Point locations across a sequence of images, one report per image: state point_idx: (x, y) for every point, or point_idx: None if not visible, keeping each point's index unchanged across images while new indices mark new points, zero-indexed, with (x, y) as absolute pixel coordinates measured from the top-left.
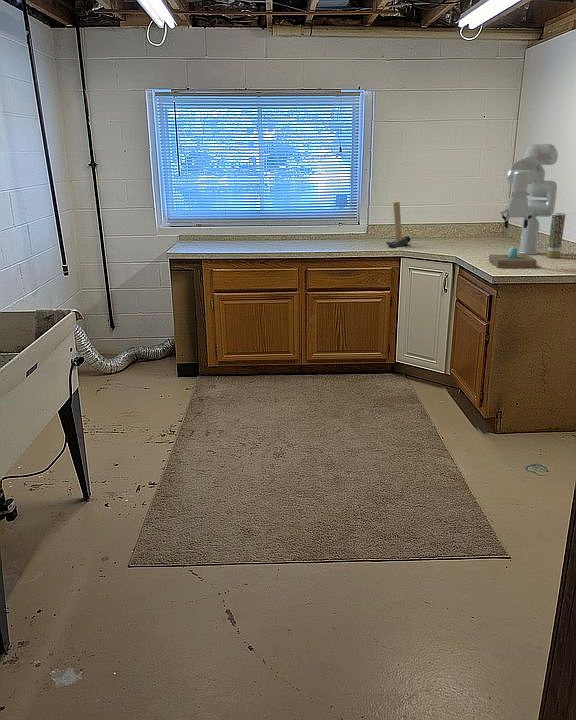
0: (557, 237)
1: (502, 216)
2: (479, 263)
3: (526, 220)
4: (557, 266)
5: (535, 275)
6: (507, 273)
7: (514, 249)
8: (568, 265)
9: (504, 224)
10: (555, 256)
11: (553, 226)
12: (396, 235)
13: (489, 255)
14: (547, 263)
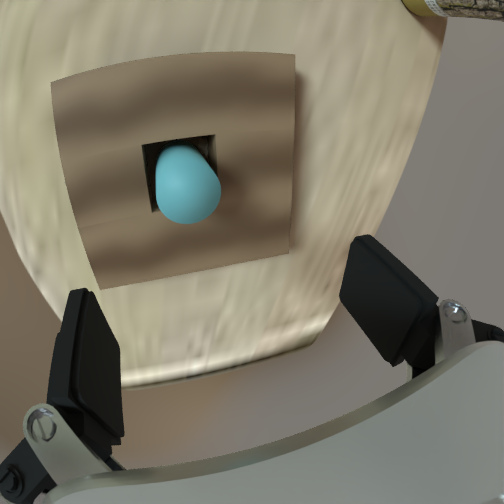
0: (486, 16)
1: (25, 497)
2: (19, 159)
3: (410, 350)
4: (364, 190)
5: (231, 357)
6: (148, 353)
7: (192, 221)
8: (402, 167)
9: (54, 352)
10: (419, 14)
11: None
12: None
13: (52, 87)
14: (358, 117)
